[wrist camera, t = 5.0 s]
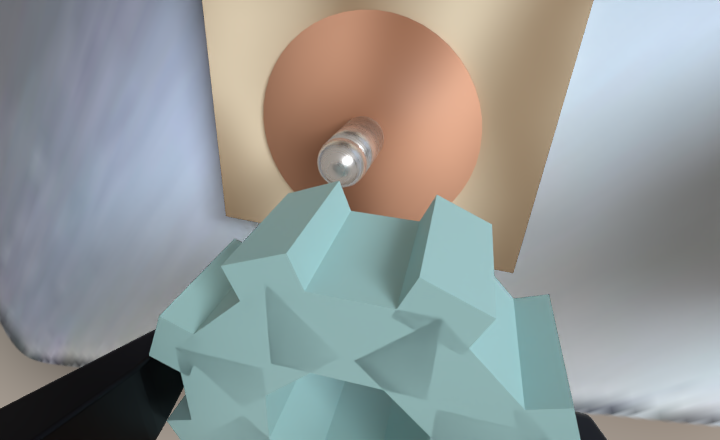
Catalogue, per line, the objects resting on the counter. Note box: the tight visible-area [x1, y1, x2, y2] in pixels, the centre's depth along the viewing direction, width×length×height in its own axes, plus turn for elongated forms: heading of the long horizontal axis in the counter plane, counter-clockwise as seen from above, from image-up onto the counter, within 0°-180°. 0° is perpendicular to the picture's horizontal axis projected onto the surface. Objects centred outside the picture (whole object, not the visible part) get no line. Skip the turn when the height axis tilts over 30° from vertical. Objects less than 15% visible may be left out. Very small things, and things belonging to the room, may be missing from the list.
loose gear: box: [149, 181, 581, 440], centre depth 8 cm, size 7×7×2 cm
